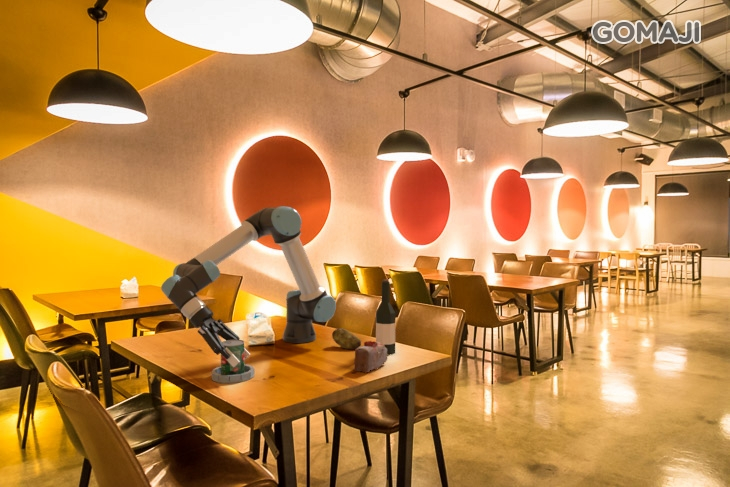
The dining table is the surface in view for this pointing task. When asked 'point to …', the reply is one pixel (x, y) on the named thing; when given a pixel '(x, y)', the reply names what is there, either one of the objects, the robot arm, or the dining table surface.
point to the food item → (370, 356)
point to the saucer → (233, 378)
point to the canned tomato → (238, 352)
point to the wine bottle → (386, 320)
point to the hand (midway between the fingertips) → (242, 360)
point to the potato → (346, 339)
